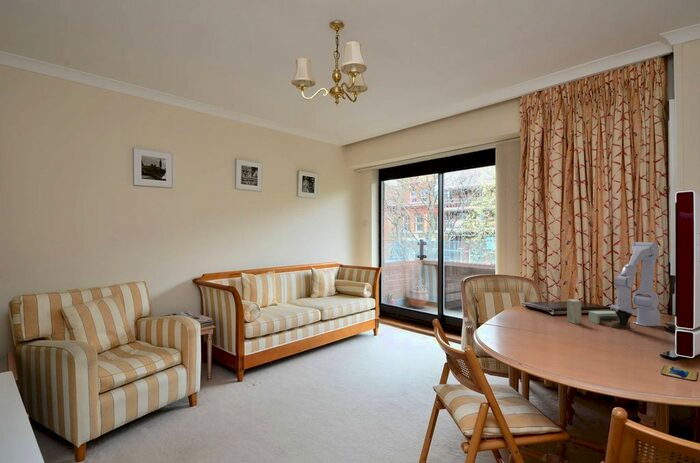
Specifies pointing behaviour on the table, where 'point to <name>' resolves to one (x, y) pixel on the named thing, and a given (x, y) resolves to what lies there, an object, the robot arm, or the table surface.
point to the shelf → (602, 316)
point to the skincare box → (574, 311)
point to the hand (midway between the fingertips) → (623, 325)
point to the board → (613, 323)
